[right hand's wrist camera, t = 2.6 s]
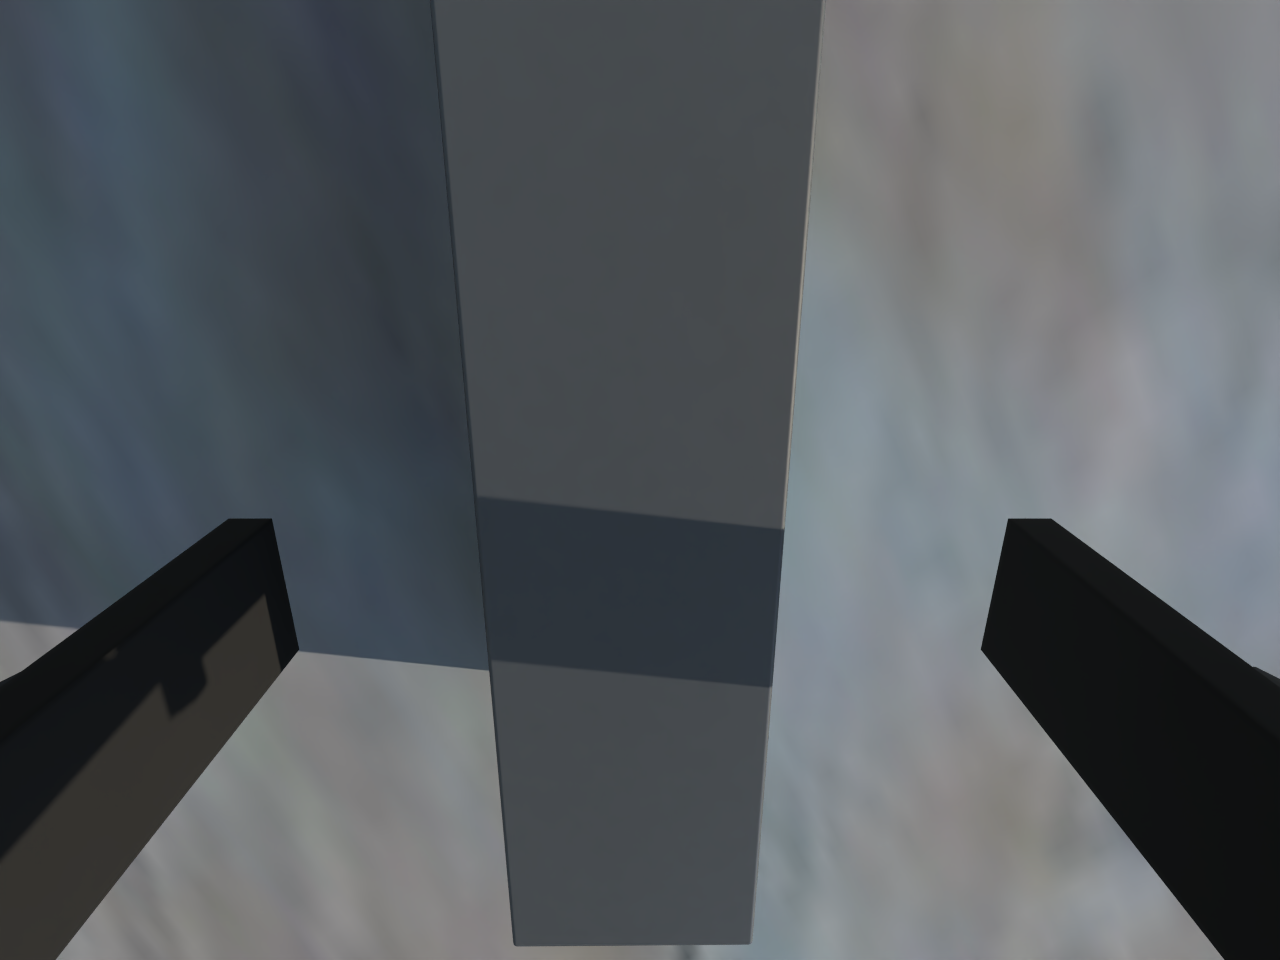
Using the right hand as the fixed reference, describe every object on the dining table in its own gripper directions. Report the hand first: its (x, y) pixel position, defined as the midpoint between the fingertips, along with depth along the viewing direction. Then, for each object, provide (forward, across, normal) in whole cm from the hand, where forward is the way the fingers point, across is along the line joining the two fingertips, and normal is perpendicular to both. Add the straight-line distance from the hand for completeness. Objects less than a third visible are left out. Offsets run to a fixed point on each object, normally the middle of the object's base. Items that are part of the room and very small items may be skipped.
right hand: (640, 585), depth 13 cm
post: (+7, 0, -29) cm, 30 cm away
